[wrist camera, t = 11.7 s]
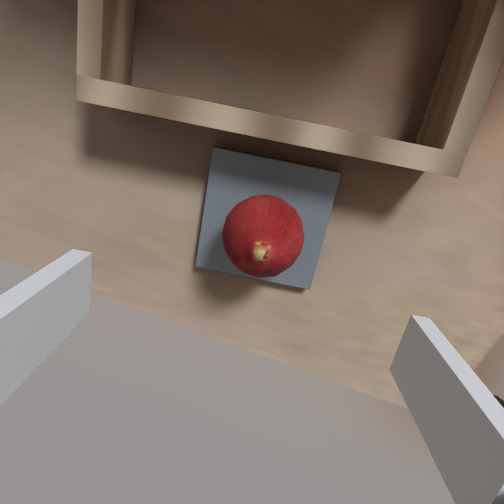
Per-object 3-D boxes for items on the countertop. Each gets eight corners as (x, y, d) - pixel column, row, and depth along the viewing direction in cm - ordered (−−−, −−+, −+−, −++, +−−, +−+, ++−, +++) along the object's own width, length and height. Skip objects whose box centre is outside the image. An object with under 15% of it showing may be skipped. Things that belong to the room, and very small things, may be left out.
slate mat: (197, 262, 31) (195, 266, 30) (215, 146, 28) (213, 147, 27) (308, 284, 31) (309, 289, 30) (339, 171, 28) (341, 173, 27)
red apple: (303, 252, 29) (313, 296, 22) (234, 260, 30) (221, 304, 22) (296, 182, 28) (305, 203, 20) (223, 191, 28) (205, 215, 21)
